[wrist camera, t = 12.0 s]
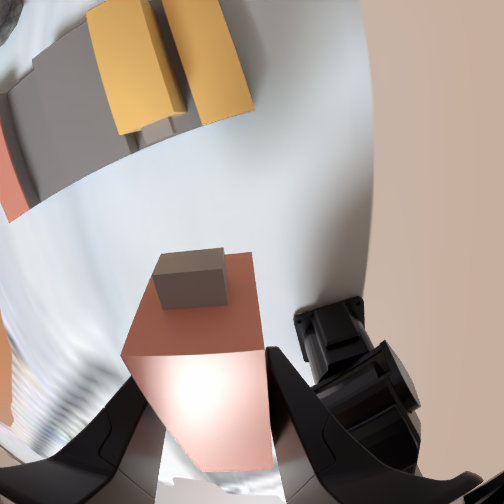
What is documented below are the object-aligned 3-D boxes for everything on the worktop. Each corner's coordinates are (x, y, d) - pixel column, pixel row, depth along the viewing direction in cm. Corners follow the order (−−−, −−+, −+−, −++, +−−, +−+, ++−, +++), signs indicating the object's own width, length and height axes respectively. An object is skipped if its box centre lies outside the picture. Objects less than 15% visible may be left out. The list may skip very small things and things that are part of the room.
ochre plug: (112, 28, 12) (85, 12, 8) (154, 9, 11) (135, -14, 8) (148, 144, 16) (125, 153, 12) (192, 127, 16) (180, 130, 12)
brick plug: (264, 396, 12) (273, 468, 9) (204, 400, 12) (201, 471, 9) (248, 221, 8) (261, 310, 5) (150, 232, 8) (101, 319, 5)
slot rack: (252, 110, 16) (255, 109, 14) (26, 211, 18) (9, 223, 16) (209, -13, 12) (206, -30, 9) (-6, 112, 13) (-25, 116, 11)
